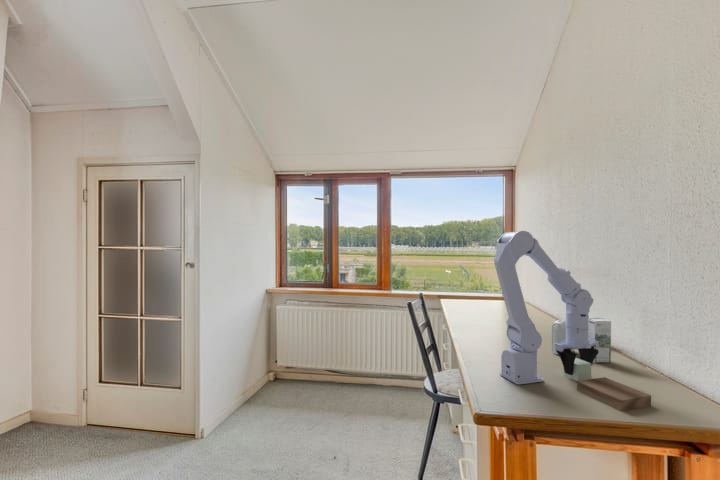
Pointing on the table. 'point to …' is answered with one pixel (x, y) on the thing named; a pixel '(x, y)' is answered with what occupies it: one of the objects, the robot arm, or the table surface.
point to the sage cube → (580, 370)
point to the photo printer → (558, 333)
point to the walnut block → (614, 393)
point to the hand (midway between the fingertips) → (577, 372)
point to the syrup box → (600, 338)
